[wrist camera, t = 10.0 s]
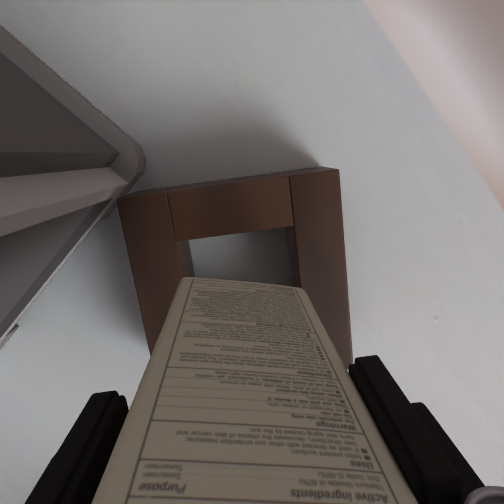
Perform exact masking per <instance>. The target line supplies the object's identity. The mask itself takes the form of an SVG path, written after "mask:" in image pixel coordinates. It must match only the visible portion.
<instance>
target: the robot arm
mask: <svg viewBox="0 0 504 504" xmlns="http://www.w3.org/2000/svg"><path fill="white" fill-rule="evenodd" d="M348 371H349V375H350V377H351V378H352V380H353V382H354V384H355V386H356V388H357V390H358V392H359V394H360V395H361V397H362V399H363V401H364V403H365V405H366V407H367V409H368V410H369V412H370V414H371V416H372V418H373V420H374V422H375V423H376V425H377V427H378V429H379V431H380V433H381V435H382V437H383V439H384V441H385V443H386V445H387V446H388V448H389V450H390V452H391V454H392V455H393V457H394V459H395V461H396V463H397V465H398V467H399V469H400V470H401V472H402V474H403V476H404V478H405V480H406V482H407V483H408V485H409V487H410V489H411V491H412V493H413V495H414V497H415V498H416V500H417V502H418V504H504V487H501V486H486V487H485V485H484V484H483V483H482V481H481V480H480V478H479V477H478V476H477V474H476V473H475V472H474V470H473V469H472V468H471V466H470V465H469V464H468V462H467V461H466V460H465V458H464V457H463V456H462V454H461V453H460V451H459V450H458V449H457V447H456V446H455V445H454V443H453V442H452V441H451V439H450V438H449V437H448V435H447V434H446V433H445V431H444V430H443V429H442V427H441V426H440V424H439V423H438V422H437V420H436V419H435V418H434V416H433V415H432V414H431V412H430V411H429V410H428V408H427V407H426V406H425V405H424V404H423V403H421V402H417V403H410V402H409V401H408V399H407V398H406V396H405V395H404V393H403V392H402V390H401V389H400V387H399V386H398V385H397V383H396V382H395V380H394V379H393V377H392V376H391V374H390V373H389V371H388V370H387V369H386V367H385V366H384V364H383V363H382V361H381V360H380V358H379V357H378V356H377V355H373V356H366V357H358V358H355V364H349V366H348ZM128 412H129V410H128V406H127V401H126V398H125V396H123V395H120V396H119V394H118V393H117V391H108V392H101V393H95V394H93V395H92V396H91V397H90V399H89V401H88V402H87V404H86V406H85V407H84V409H83V410H82V412H81V414H80V415H79V417H78V419H77V420H76V422H75V424H74V425H73V427H72V429H71V430H70V432H69V434H68V435H67V437H66V439H65V440H64V442H63V443H62V445H61V447H60V448H59V450H58V452H57V453H56V454H55V455H54V457H53V458H52V459H51V461H50V463H49V464H48V466H47V468H46V469H45V471H44V473H43V474H42V476H41V477H40V479H39V481H38V482H37V484H36V486H35V487H34V489H33V491H32V492H31V494H30V496H29V497H28V499H27V500H26V502H25V504H92V501H93V499H94V496H95V494H96V491H97V489H98V486H99V484H100V482H101V479H102V477H103V474H104V472H105V470H106V467H107V464H108V462H109V459H110V457H111V454H112V452H113V449H114V447H115V444H116V442H117V439H118V437H119V434H120V432H121V429H122V427H123V424H124V422H125V419H126V417H127V414H128Z"/></svg>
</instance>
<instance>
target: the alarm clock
mask: <svg viewBox="0 0 504 504" xmlns="http://www.w3.org/2000/svg"><path fill="white" fill-rule="evenodd" d="M144 167H145V157H144V155H143V152H142V150H141V147H140V145H139V144H138V143H136V142H135V141H134V140H133V139H132V138H131V137H130V136H128V135H127V134H126V133H125V132H124V131H123V130H121V129H120V128H119V127H118V126H117V125H116V124H114V123H113V122H112V121H111V120H110V119H109V118H107V117H106V116H105V115H104V114H103V113H102V112H100V111H99V110H98V109H97V108H96V107H95V106H94V105H92V104H91V103H90V102H89V101H88V100H87V99H85V98H84V97H83V96H82V95H81V94H80V93H78V92H77V91H76V90H75V89H74V88H73V87H71V86H70V85H69V84H68V83H67V82H66V81H64V80H63V79H62V78H61V77H60V76H59V75H57V74H56V73H55V72H54V71H53V70H52V69H51V68H49V67H48V66H47V65H46V64H45V63H44V62H42V61H41V60H40V59H39V58H38V57H37V56H35V55H34V54H33V53H32V52H31V51H30V50H28V49H27V48H26V47H25V46H24V45H23V44H21V43H20V42H19V41H18V40H17V39H16V38H15V37H13V36H12V35H11V34H10V33H9V32H8V31H6V30H5V29H4V28H3V27H2V26H1V25H0V349H1V348H2V347H3V345H4V344H5V343H6V342H7V340H8V339H9V338H10V337H11V336H12V334H13V333H14V332H15V331H16V329H17V328H18V327H19V326H18V325H16V323H17V321H18V320H19V319H20V318H21V316H22V315H23V314H24V313H25V311H26V310H27V309H28V308H29V306H30V305H31V304H32V303H33V301H34V300H35V299H36V298H37V297H38V295H39V294H40V293H41V292H42V290H43V289H44V288H45V287H46V285H47V284H48V283H49V282H50V280H51V279H52V278H53V277H54V275H55V274H56V273H57V272H58V270H59V269H60V268H61V267H62V265H63V264H64V263H65V262H66V261H67V259H68V258H69V257H70V256H71V254H72V253H73V252H74V251H75V249H76V248H77V247H78V246H79V244H80V243H81V242H82V241H83V239H84V238H85V237H86V236H87V234H88V233H89V232H90V231H91V229H92V228H93V227H94V226H95V225H96V223H97V222H98V221H100V220H102V219H104V218H106V217H108V216H109V214H110V213H111V212H112V211H113V210H114V208H115V207H116V206H117V199H118V198H121V197H124V196H125V195H126V193H127V192H128V191H129V190H130V189H131V187H132V186H133V185H134V184H135V182H136V181H137V180H138V179H139V177H140V176H141V175H142V174H143V172H144Z"/></svg>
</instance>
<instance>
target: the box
mask: <svg viewBox="0 0 504 504" xmlns="http://www.w3.org/2000/svg"><path fill="white" fill-rule="evenodd" d="M92 504H418V502H417V500H416V498H415V497H414V495H413V493H412V491H411V489H410V487H409V485H408V483H407V482H406V480H405V478H404V476H403V474H402V472H401V470H400V469H399V467H398V465H397V463H396V461H395V459H394V457H393V455H392V454H391V452H390V450H389V448H388V446H387V445H386V443H385V441H384V439H383V437H382V435H381V433H380V431H379V429H378V427H377V425H376V423H375V422H374V420H373V418H372V416H371V414H370V412H369V410H368V409H367V407H366V405H365V403H364V401H363V399H362V397H361V395H360V394H359V392H358V390H357V388H356V386H355V384H354V382H353V380H352V378H351V377H350V375H349V373H348V371H347V369H346V367H345V365H344V364H343V362H342V360H341V358H340V356H339V355H338V353H337V351H336V349H335V347H334V345H333V343H332V341H331V340H330V338H329V336H328V334H327V332H326V330H325V328H324V326H323V325H322V323H321V321H320V319H319V317H318V315H317V313H316V311H315V309H314V307H313V305H312V303H311V301H310V300H309V297H308V295H307V294H306V292H305V290H303V289H302V288H298V287H290V286H283V285H275V284H267V283H258V282H245V281H235V280H224V279H211V278H195V277H183V278H182V279H181V281H180V284H179V286H178V288H177V291H176V293H175V296H174V298H173V301H172V304H171V306H170V309H169V312H168V314H167V317H166V320H165V322H164V325H163V327H162V330H161V332H160V335H159V337H158V340H157V342H156V345H155V347H154V350H153V352H152V355H151V357H150V360H149V362H148V365H147V367H146V370H145V372H144V375H143V377H142V379H141V382H140V384H139V387H138V390H137V392H136V395H135V397H134V400H133V402H132V405H131V407H130V410H129V412H128V414H127V417H126V419H125V422H124V424H123V427H122V429H121V432H120V434H119V437H118V439H117V442H116V444H115V447H114V449H113V452H112V454H111V457H110V459H109V462H108V464H107V467H106V470H105V472H104V474H103V477H102V479H101V482H100V484H99V486H98V489H97V491H96V494H95V496H94V499H93V501H92Z"/></svg>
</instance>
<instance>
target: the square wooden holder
mask: <svg viewBox="0 0 504 504" xmlns="http://www.w3.org/2000/svg"><path fill="white" fill-rule="evenodd" d="M117 205H118V210H119V214H120V219H121V223H122V228H123V232H124V237H125V242H126V246H127V251H128V255H129V260H130V264H131V269H132V274H133V278H134V283H135V287H136V292H137V296H138V301H139V305H140V310H141V315H142V319H143V324H144V328H145V333H146V337H147V342H148V347H149V351H150V356H151V355H152V352H153V350H154V347H155V345H156V342H157V340H158V337H159V335H160V332H161V330H162V327H163V325H164V322H165V320H166V317H167V314H168V312H169V309H170V306H171V304H172V301H173V298H174V296H175V293H176V291H177V288H178V286H179V284H180V281H181V279H182V278H183V277H195V274H194V269H193V263H192V257H191V252H190V246H189V240H191V239H199V238H206V237H214V236H221V235H228V234H236V233H243V232H251V231H258V230H265V229H273V228H280V227H286V228H287V237H288V246H289V255H290V264H291V273H292V282H293V287H298V288H302V289H303V290H305V292H306V294H307V295H308V297H309V300H310V301H311V303H312V305H313V307H314V309H315V311H316V313H317V315H318V317H319V319H320V321H321V323H322V325H323V326H324V328H325V330H326V332H327V334H328V336H329V338H330V340H331V341H332V343H333V345H334V347H335V349H336V351H337V353H338V355H339V356H340V358H341V360H342V362H343V364H344V365H345V367H346V369H348V366H349V364H353V354H352V340H351V326H350V313H349V299H348V285H347V272H346V258H345V244H344V230H343V217H342V203H341V189H340V176H339V169H334V168H327V167H314V168H307V169H299V170H292V171H284V172H281V173H280V172H277V173H269V174H262V175H255V176H247V177H240V178H233V179H225V180H218V181H210V182H203V183H196V184H188V185H181V186H174V187H166V188H159V189H151V190H144V191H137V192H135V193H132V194H129V195H127V196H124V197H121V198H118V199H117Z"/></svg>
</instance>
